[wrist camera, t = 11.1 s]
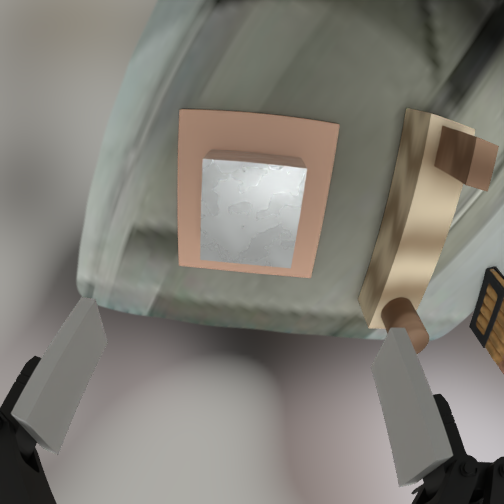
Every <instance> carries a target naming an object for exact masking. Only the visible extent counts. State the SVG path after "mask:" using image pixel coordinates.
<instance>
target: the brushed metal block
mask: <svg viewBox="0 0 504 504" xmlns="http://www.w3.org/2000/svg"><path fill="white" fill-rule="evenodd" d="M306 174H307V167H306V166H305V164H304V162H303V160H302V158H299V157H291V156H283V155H274V154H264V153H254V152H243V151H230V150H216V149H211V150H210V151H209V152H208V153H207V154H206V156H205V157H204V158H203V163H202V190H201V236H200V260H207V261H217V262H228V263H238V264H249V265H259V266H270V267H281V268H291V264H292V259H293V253H294V247H295V242H296V236H297V230H298V224H299V218H300V212H301V206H302V199H303V193H304V187H305V180H306Z"/></svg>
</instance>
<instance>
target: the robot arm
mask: <svg viewBox="0 0 504 504" xmlns="http://www.w3.org/2000/svg"><path fill="white" fill-rule="evenodd" d="M107 343H108V342H107V338H106V335H105V331H104V328H103V325H102V321H101V318H100V314H99V310H98V306H97V302H96V299H91V298H85V297H81V299H80V300H79V302H78V303H77V305H76V306H75V307H74V309H73V310H72V312H71V313H70V315H69V316H68V318H67V319H66V321H65V322H64V324H63V325H62V327H61V328H60V330H59V332H58V333H57V334H56V336H55V338H54V339H53V341H52V342H51V344H50V346H49V347H48V349H47V350H46V352H45V353H44V355H43V357H42V358H40V357H37V356H34V357H33V358H32V359H30V360H29V361H28V362H27V363H26V364H25V366H24V368H23V369H22V371H21V372H20V373H21V374H20V375H19V376H18V377H17V379H16V382H15V383H14V384H13V386H12V388H11V390H10V391H9V393H8V395H7V397H6V399H5V400H4V402H3V404H2V406H1V407H0V504H56V501H55V499H54V497H53V494H52V492H51V490H50V487H49V484H48V481H47V479H46V476H45V473H44V471H43V468H42V465H41V462H40V459H39V456H38V453H37V450H36V448H35V446H36V443H38V444H39V445H40V446H41V447H42V448H43V449H46V450H47V451H50V452H52V453H54V454H57V455H58V454H59V451H60V448H61V446H62V444H63V441H64V438H65V436H66V433H67V431H68V429H69V426H70V424H71V421H72V419H73V416H74V414H75V412H76V409H77V407H78V405H79V403H80V400H81V398H82V396H83V393H84V391H85V389H86V387H87V385H88V382H89V380H90V378H91V376H92V374H93V372H94V369H95V367H96V365H97V363H98V361H99V359H100V357H101V355H102V353H103V351H104V349H105V347H106V345H107ZM371 370H372V373H373V377H374V380H375V384H376V388H377V392H378V396H379V399H380V403H381V406H382V411H383V415H384V419H385V423H386V427H387V432H388V436H389V440H390V445H391V449H392V453H393V458H394V463H395V468H396V473H397V478H398V484H399V487H402V486H407V485H411V484H415V483H417V482H418V481H419V480H421V479H423V481H424V484H423V485H421V486H419V487H418V488H416V489H415V490H414V491H413V492H412V494H415V493H416V492H418V493H417V495H416V497H415V499H414V500H413V502H412V504H504V457H500V458H499V459H497V460H496V461H495V462H493V463H489V462H477V460H476V459H475V458H474V457H472V456H470V455H467V454H466V452H465V449H464V446H463V443H462V440H461V437H460V434H459V431H458V428H457V426H456V423H454V422H455V420H454V417H453V415H452V412H451V409H450V407H449V404H448V402H447V401H446V400H445V398H444V397H443V396H442V395H441V394H435V395H432V392H431V389H430V386H429V384H428V381H427V379H426V377H425V374H424V371H423V369H422V366H421V364H420V361H419V359H418V357H417V354H416V352H415V350H414V347H413V345H412V343H411V340H410V338H409V336H408V334H407V331H406V329H405V328H390V330H389V332H388V334H387V336H386V338H385V340H384V342H383V344H382V346H381V348H380V350H379V352H378V354H377V356H376V358H375V360H374V363H373V364H372V366H371Z"/></svg>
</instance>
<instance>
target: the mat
mask: <svg viewBox="0 0 504 504" xmlns="http://www.w3.org/2000/svg"><path fill="white" fill-rule="evenodd" d="M339 126H340V125H339V124H336V123H330V122H324V121H318V120H312V119H305V118H298V117H290V116H282V115H273V114H263V113H252V112H240V111H225V110H204V109H180V111H179V135H178V252H179V266H188V267H198V268H207V269H217V270H228V271H238V272H248V273H259V274H270V275H281V276H292V277H304V278H311V275H312V270H313V266H314V261H315V257H316V252H317V247H318V243H319V238H320V233H321V228H322V223H323V218H324V213H325V208H326V202H327V197H328V192H329V186H330V181H331V175H332V169H333V163H334V157H335V151H336V145H337V139H338V132H339ZM211 149H216V150H230V151H243V152H254V153H264V154H274V155H283V156H291V157H299V158H302V160H303V162H304V164H305V166H306V167H307V174H306V180H305V187H304V193H303V199H302V206H301V212H300V218H299V224H298V230H297V236H296V242H295V247H294V253H293V259H292V264H291V268H281V267H270V266H259V265H249V264H238V263H228V262H217V261H207V260H200V236H201V190H202V163H203V158H204V157H205V156H206V154H207V153H208V152H209V151H210V150H211Z"/></svg>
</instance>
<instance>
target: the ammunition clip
mask: <svg viewBox="0 0 504 504" xmlns="http://www.w3.org/2000/svg"><path fill="white" fill-rule="evenodd" d="M470 328H471V329H472V331H473V333H474V334H475V335H476V337H477V339H478V340H479V342H480V343H481V345H482V346H483V348H485V347H486V349H487V350H488V352H489V354H490V355H491V357H492V359H493V360H494V361H495V362H496V364H497V365H498V366H499V368H500V370H501V371H502V373H503V374H504V276H503V275H502V273H501V272H500V271H499V270H498V269H497V268H496V267H492V268H488V269H486V272H485V276H484V280H483V283H482V287H481V291H480V294H479V298H478V301H477V304H476V308H475V310H474V314H473V317H472V320H471V323H470Z"/></svg>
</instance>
